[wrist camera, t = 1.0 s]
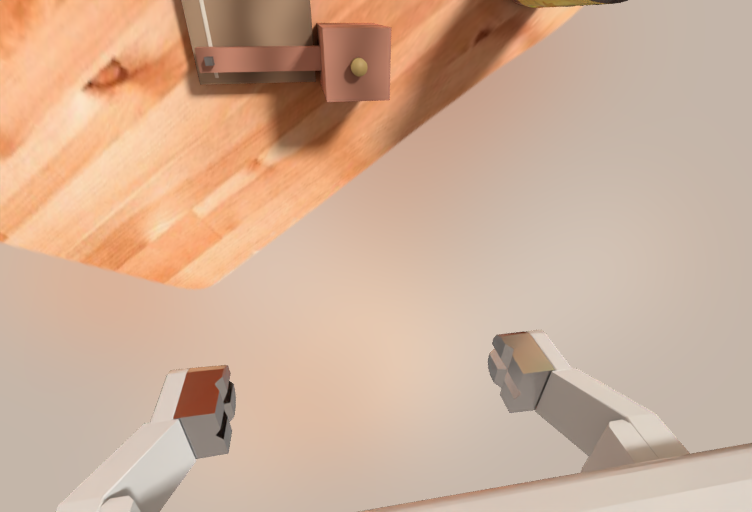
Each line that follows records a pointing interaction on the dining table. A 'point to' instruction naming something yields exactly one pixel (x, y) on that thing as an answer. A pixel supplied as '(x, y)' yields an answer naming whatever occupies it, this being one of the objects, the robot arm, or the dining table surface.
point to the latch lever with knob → (319, 60)
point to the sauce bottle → (563, 2)
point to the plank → (249, 33)
